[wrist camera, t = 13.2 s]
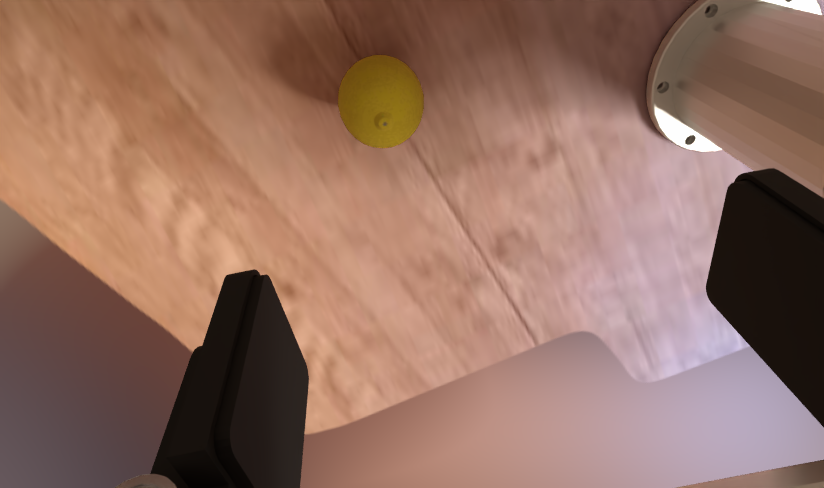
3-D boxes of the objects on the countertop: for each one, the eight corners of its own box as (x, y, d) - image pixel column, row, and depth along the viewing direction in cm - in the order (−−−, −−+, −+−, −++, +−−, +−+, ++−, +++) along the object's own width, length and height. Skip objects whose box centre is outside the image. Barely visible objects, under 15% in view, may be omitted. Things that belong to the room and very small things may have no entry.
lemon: (348, 126, 38) (348, 174, 31) (330, 50, 34) (326, 85, 28) (421, 113, 38) (437, 158, 31) (410, 35, 34) (425, 67, 28)
